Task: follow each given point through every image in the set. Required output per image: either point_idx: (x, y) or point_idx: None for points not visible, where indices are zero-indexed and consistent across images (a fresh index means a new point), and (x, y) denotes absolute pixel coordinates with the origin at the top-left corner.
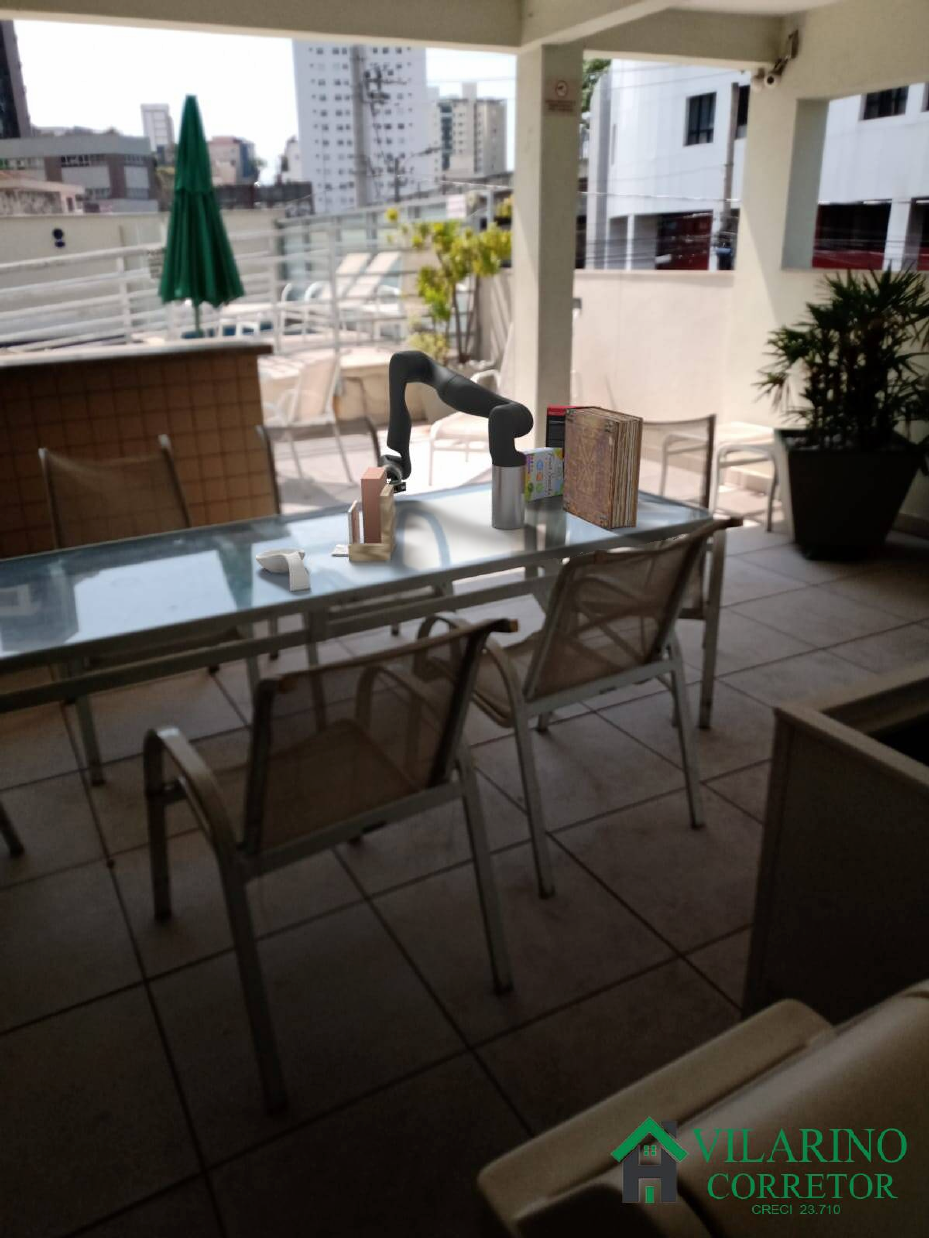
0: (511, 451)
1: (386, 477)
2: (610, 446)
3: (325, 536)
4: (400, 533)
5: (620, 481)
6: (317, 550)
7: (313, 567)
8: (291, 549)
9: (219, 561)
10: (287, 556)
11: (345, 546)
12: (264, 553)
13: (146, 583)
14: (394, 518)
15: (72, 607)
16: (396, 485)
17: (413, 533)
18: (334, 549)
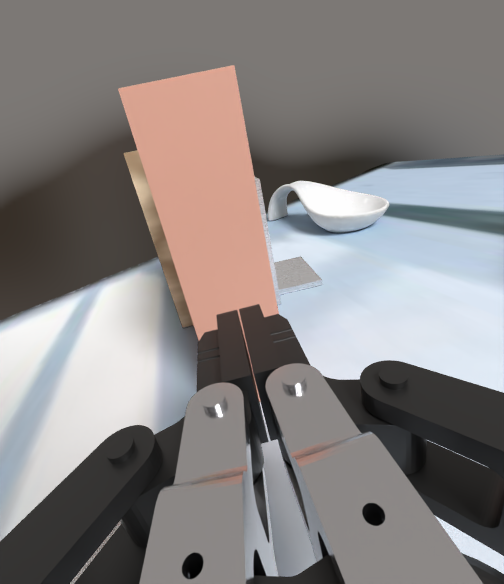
0: None
1: (142, 157)
2: None
3: (423, 318)
4: (172, 413)
5: None
6: (351, 265)
7: (302, 238)
8: (351, 215)
9: (469, 208)
10: (294, 182)
11: (295, 279)
12: (383, 205)
13: (461, 180)
14: (160, 258)
15: (452, 166)
16: (51, 501)
17: (118, 428)
18: (308, 266)
